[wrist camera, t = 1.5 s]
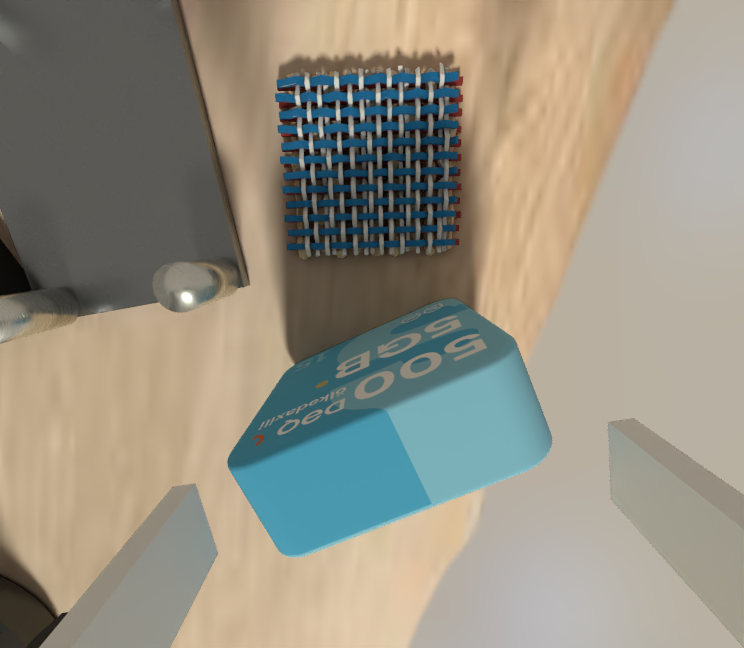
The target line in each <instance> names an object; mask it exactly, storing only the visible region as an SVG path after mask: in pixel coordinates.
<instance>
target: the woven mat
mask: <svg viewBox="0 0 744 648" xmlns="http://www.w3.org/2000/svg"><path fill="white" fill-rule="evenodd" d="M358 71H359V76H358V75H354V74H352V71H347V75H344V76H342V77H339V72H337V71H334V72H332V71H330V72H329V75H328V74H323V75H321V72H316V75H313V76H312V78H309V73H308V72H305V77H301V76H299V72H297V73H290V74H287V75H286V78H285V79H280V80H277V90H278V91H288V94H284V93H278V94H275V98H276V102H279V108H288V107H289V109H290V110H288V111H282V112H279V117H280V122H282V123H283V122H290V125H291V126H287V125H279V126H278V133H281V136H282V137H291V141H292V142H289V143H282V151H283V152H292V155H291V157H288V156H283V157H280V162H281V164H284V167H291V168H292V169H293V172H290V173H284V180H285V181H294V184H295V187H289V186H287V187H282V188H283V193H286V195H295V199H296V201H291V202H286V208H287V209H291V208H296V213H297V215H285V222H297V227H298V229H296V230H288V236H298V238H297V244H287V250H298V252H299V258H301V259H304V260H305V259H307V258H308V257H310V256H311V252H310V249H316V257H317V256H320V251H321V253H325V252H326V255H328V256H330V249H332V255H337V257H338V258H344V257H345V255H347V248H354V255H358V252H361V251H362V250H363V248H364V254H365V256H366V255H369V248H370V254H372V256H381V255H383V254H384V247H389V255H391V256H393V257H396V256H398V255H399V250H400V254H404V251H408V252H409V250H415V248H416V253H420V246H424V248H425V252H426V256H428V255H433V254H434V252H435V251H436V250H435V246H437V253H441V252H446V249H451V245H459V239H452V232H453V231H459V225H453V223H454V218H461V212H460V211H458V212H456V211H454V205H453V204H460V198H457V197H456V196H453V190H461V184H457V182H453V176H460V169H458V167H456V166H454V167H453V161H461V154H457V152H453V147H460V146H461V139H458V136H456V134H458V133H461V126H458V121H455V117H457V116H462V109H458V105H457V104H454V102H462V100H463V95H460V94H459V90H457V89H455V86H462V83H463V76H462V77H459V73H458V71H456V72H453V71H449V67H445V70H444V66H443V64H442V63H441V62H440V63H439V72H440V73H438V72H437V71H436V70H433V68H428V69H427V71H426V73H424V74H421V75H420V69H419V67H417V68H416V69H415V72H409V68H405V71H404V73H403V65H400V66H398V73H397V72H396V71H394V70H391V69H390V68H388V69H386V71H387V72H386V74H384V73H380V70H375V74H373V75H370V76H369V73H370V70H368V69H365V76H364V77H363V69H361V68H358ZM415 73H416V75H415ZM382 88H386V90H384V91H382V92H381V91H380V89H382ZM397 88H398V91H397ZM357 89H359V92H357ZM300 91H306V92H305V93H302V94H300ZM321 91H322V92H324V95H321ZM344 91H347V93H344ZM420 103H424V106H422V107H420V106H421V105H420ZM435 103H439V106H438V105H436V104H435ZM397 104H398V106H397ZM340 105H348V107H345V108H343V109H340ZM383 105H386V107H383ZM302 106H307V110H305V109H302ZM322 106H324V108H322ZM358 106H360V109H358ZM364 107H366V108H364ZM435 118H438V121H437V122H435ZM381 119H386V122H384V123H381ZM421 119H424V122H423V121H420V120H421ZM347 120H349V125H346V124H341V121H347ZM359 120H360V124H359ZM365 120H367V123H365ZM397 120H399V123H397ZM323 121H325V126H323ZM403 121H405V123H403ZM302 122H308V124H305V125H303V126H302ZM420 133H424V138H421V139H420ZM435 133H437V134H438V137H435ZM381 134H387V138H381ZM397 134H399V138H397ZM404 134H405V138H404V137H403V135H404ZM442 134H444V137H443V138H442ZM345 135H349V139H347V140H343V141H341V136H345ZM360 135H361V140H360ZM366 135H367V140H366ZM303 137H305V138H309V141H306V140H304V138H303ZM325 138H326V140H325ZM442 147H443V152H442ZM404 148H405V154H403V149H404ZM420 148H424V153H423V152H420ZM435 148H438V152H436V153H434V149H435ZM382 149H387V154H383V155H382ZM367 150H368V154H366V151H367ZM307 151H310V155H308V156H305V157H304V152H307ZM326 151H327V155H326ZM342 151H343V152H349V154H350V156H348V155H342ZM422 162H424V168H421V169H420V163H422ZM435 162H438V165H439V167H440V168H439V167H436V165H435ZM361 164H362V170H361ZM366 164H368V170H366ZM403 164H405V168H403ZM326 165H327V168H328V170H326ZM343 165H350V170H345V171H343ZM382 165H387V169H386V168H382ZM307 167H310V171H306V169H305V168H307ZM398 168H399V169H398ZM438 177H441V179H440V180H439V181H438V182H436V183H435V181H436V178H438ZM382 178H387V183H385V184H382ZM398 178H399V180H398ZM403 178H405V181H406V184H403ZM420 178H425V179H424V183H421V182H420ZM350 179H351V185H344V182H343V180H350ZM361 179H362V185H361ZM367 179H369V184H367ZM306 180H311V182H312V186H306ZM327 181H328V184H327ZM420 191H424V197H422V198H420ZM434 191H438V197H434ZM403 192H406V198H403ZM344 193H351V199H347V200H344ZM362 193H363V199H362ZM383 193H388V198H383ZM307 194H312V200H307ZM328 194H329V200H328ZM367 194H369V199H367ZM398 195H399V198H398ZM422 205H424V211H420V206H422ZM434 205H437V211H434ZM367 206H369V213H368V207H367ZM383 206H388V212H383ZM398 206H399V212H398ZM404 206H406V212H404ZM328 207H330V214H329V211H328ZM344 207H352V214H345V208H344ZM362 207H363V213H362ZM308 208H313V212H314V214H310V215H308ZM434 218H437V225H434ZM441 218H443V222H442V219H441ZM399 219H400V227H398V220H399ZM404 219H406V226H404ZM420 219H424V226H420ZM368 220H369V221H370V227H368ZM383 220H388V227H383ZM345 221H352V228H345ZM308 222H314V229H309V224H308ZM329 222H330V225H331V228H330V227H329ZM420 232H424V240H420ZM434 232H437V240H434ZM399 233H400V238H399ZM404 233H406V240H405V238H404ZM415 233H416V235H415ZM368 234H370V241H368ZM383 234H388V237H389V241H384V235H383ZM330 235H331V236H332V242H331V243H329V238H330ZM346 235H352V237H353V242H346ZM310 236H314V238H315V243H310ZM441 236H442V239H441ZM441 246H442V251H441Z"/></svg>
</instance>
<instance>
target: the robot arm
mask: <svg viewBox="0 0 744 648" xmlns="http://www.w3.org/2000/svg"><path fill="white" fill-rule="evenodd" d="M608 436H609V462H610V463H609V464H610V492H611V500H612V501H613V502H614V504H615V505H616V506H617V507H618V508H619V509H620V510H621V511H622V513H623V514H624V515H625V516H626V517H627V518H628V519H629V520H630V521H631V523H632V524H633V525H634V526H635V527H636V528H637V529H638V530H639V531H640V533H641V534H642V535H643V536H644V537H645V538H646V539H647V540H648V541H649V543H650V544H651V545H652V546H653V547H654V548H655V549H656V550H657V551H658V553H659V554H660V555H661V556H662V557H663V558H664V559H665V560H666V562H667V563H668V564H669V565H670V566H671V567H672V568H673V569H674V570H675V572H676V573H677V574H678V575H679V576H680V577H681V578H682V579H683V580H684V582H685V583H686V584H687V585H688V586H689V587H690V588H691V589H692V590H693V591H694V592H695V594H696V595H697V596H698V597H699V598H700V599H701V601H702V602H703V603H704V604H705V605H706V606H707V607H708V608H709V609H710V611H711V612H713V614H714V615H715V616H716V617H717V618H718V619H719V621H720V622H721V623H722V624H723V625H724V626H725V627H726V628H727V630H729V632H730V633H731V634H732V635H733V636H734V637H735V638H736V639H737V641H738V642H739V643H740V644H741V645H742V646H743V647H744V495H743V494H742V493H740V492H739V491H737V490H736V489H734V488H733V487H731V486H730V485H729V484H727V483H726V482H724V481H723V480H722V479H720V478H719V477H717V476H716V475H714V474H713V473H711V472H710V471H709V470H707V469H706V468H704V467H703V466H701V465H700V464H699V463H697V462H696V461H694V460H693V459H691V458H690V457H688V456H687V455H686V454H684V453H683V452H681V451H680V450H679V449H677V448H676V447H674V446H673V445H671V444H670V443H668V442H667V441H666V440H664V439H663V438H661V437H660V436H658V435H657V434H656V433H654V432H653V431H651V430H650V429H648V428H647V427H645V426H644V425H643V424H641V423H640V422H638V421H637V420H635V419H634V418H632V419H626V420H619V421H612V422H608ZM217 554H218V551H217V548H216V545H215V542H214V539H213V536H212V533H211V530H210V527H209V524H208V521H207V518H206V515H205V512H204V509H203V505H202V502H201V499H200V496H199V493H198V490H197V487H196V484H189V485H182V486H175V487H172V488H171V490H170V491H169V492H168V493H167V494H166V496H165V497H164V498H163V499H162V500H161V502H160V503H159V504H158V505H157V507H156V508H155V509H154V510H153V511H152V513H151V514H150V515H149V516H148V517H147V519H146V520H145V521H144V522H143V523H142V525H141V526H140V527H139V528H138V529H137V531H136V532H135V533H134V534H133V535H132V537H131V538H130V539H129V540H128V541H127V543H126V544H125V545H124V546H123V547H122V549H121V550H120V551H119V552H118V553H117V555H116V556H115V557H114V558H113V559H112V561H111V562H110V563H109V564H108V565H107V567H106V568H105V569H104V570H103V571H102V573H101V574H100V575H99V576H98V577H97V579H96V580H95V581H94V582H93V583H92V585H91V586H90V587H89V588H88V589H87V591H86V592H85V593H84V594H83V595H82V597H81V598H80V599H79V600H78V601H77V603H76V604H75V605H74V606H73V607H72V609H71V610H70V611H69V612H66V613H62V614H61V615H60V616H59V617H57V618H56V619H54V618H53V617H52V615H51V614H50V613H49V611H48V610H47V609H46V608H45V607H44V606H43V605H42V604H41V603H40V602H39V601H38V600H37V599H36V598H34V597H33V596H32V595H31V594H29V593H28V592H27V591H25V590H24V589H22V588H21V587H19V586H17V585H16V584H14V583H12V582H10V581H8V580H6V579H4V578H1V577H0V648H170V646H171V645H172V643H173V641H174V639H175V637H176V635H177V633H178V631H179V629H180V627H181V625H182V623H183V621H184V619H185V617H186V615H187V613H188V611H189V609H190V607H191V605H192V603H193V601H194V599H195V598H196V596H197V594H198V592H199V590H200V588H201V586H202V584H203V582H204V580H205V578H206V576H207V574H208V572H209V570H210V568H211V566H212V564H213V562H214V560H215V558H216V556H217Z"/></svg>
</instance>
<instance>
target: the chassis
mask: <svg viewBox="0 0 744 648" xmlns="http://www.w3.org/2000/svg"><path fill="white" fill-rule="evenodd" d="M0 209H1V211H2V214H3V217H4V219H5V222H6V224H7V227H8V229H9V232H10V235H11V237H12V240H13V242H14V245H15V248H16V250H17V253H18V255H19V258H20V261H21V263H22V266H23V268H24V271H25V274H26V276H27V279H28V281H29V284H30V286H31V289H32V291H29V292H22V293H15V294H8V295H1V296H0V343H4V342H7V341H11V340H15V339H18V338H22V337H26V336H29V335H33V334H37V333H40V332H44V331H48V330H51V329H55V328H59V327H62V326H66V325H69V324H71V323H73V322H74V321H75V320H76V319H77V317H79V316H85V315H90V314H96V313H102V312H107V311H113V310H118V309H124V308H129V307H135V306H141V305H146V304H152V303H157V302H160V304H161V305H163V306H164V307H165V308H167V309H169V310H171V311H174V312H187V311H190V310H193V309H195V308H198V307H201V306H203V305H206V304H209V303H211V302H214V301H217V300H219V299H222V298H225V297H227V296H230V295H232V294H233V293H234V292H235V291H236V290H237V289H238V288H241V287H245V286H248V285H250V284H249V281H248V277H247V273H246V269H245V265H244V261H243V257H242V253H241V249H240V245H239V241H238V237H237V233H236V229H235V225H234V221H233V217H232V213H231V209H230V205H229V201H228V197H227V193H226V189H225V185H224V181H223V177H222V173H221V169H220V166H219V162H218V158H217V154H216V150H215V146H214V142H213V138H212V134H211V130H210V126H209V122H208V118H207V114H206V110H205V106H204V102H203V98H202V94H201V90H200V86H199V82H198V78H197V74H196V70H195V66H194V62H193V58H192V54H191V50H190V47H189V43H188V39H187V35H186V31H185V27H184V23H183V19H182V15H181V11H180V7H179V3H178V0H0Z"/></svg>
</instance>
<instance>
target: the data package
mask: <svg viewBox="0 0 744 648" xmlns="http://www.w3.org/2000/svg"><path fill="white" fill-rule="evenodd" d="M551 444H552V436H551V433H550V430H549V427H548V425H547V422H546V419H545V417H544V414H543V411H542V409H541V406H540V404H539V401H538V399H537V396H536V393H535V390H534V388H533V385H532V383H531V380H530V377H529V375H528V372H527V369H526V367H525V364H524V362H523V359H522V356H521V354H520V351H519V348H518V346H517V343H516V341H515V339H514V338H513V337H512V336H510V335H509V334H507V333H506V332H505V331H503V330H502V329H500V328H499V327H497V326H496V325H494V324H493V323H491V322H490V321H488V320H487V319H485V318H484V317H483V316H481V315H480V314H478V313H477V312H475V311H474V310H472V309H471V308H469V307H468V306H466V305H465V304H463V303H462V302H461V301H459V300H458V299H455V298H449V299H443V300H440V301H437V302H434V303H431V304H429V305H427V306H424V307H422V308H420V309H417V310H415V311H413V312H411V313H408V314H406V315H404V316H402V317H399V318H397V319H395V320H393V321H390V322H388V323H386V324H383V325H381V326H379V327H377V328H374V329H372V330H370V331H368V332H365V333H363V334H361V335H359V336H356V337H354V338H352V339H350V340H347V341H345V342H343V343H340V344H338V345H336V346H334V347H331V348H329V349H327V350H325V351H322V352H320V353H318V354H316V355H313V356H311V357H309V358H307V359H305V360H303V361H301V362H299V363H297V364H296V365H294V366H293V367H291V368H290V369H289V370H287V371H286V372H285V373H284V375H283V376H282V378H281V379H280V380H279V382H278V383H277V385H276V386H275V388H274V389H273V391H272V392H271V394H270V395H269V397H268V398H267V400H266V401H265V403H264V404H263V406H262V407H261V409H260V410H259V412H258V413H257V415H256V416H255V418H254V419H253V421H252V422H251V424H250V425H249V427H248V428H247V430H246V431H245V433H244V434H243V436H242V437H241V439H240V440H239V441H238V443H237V444H236V446H235V447H234V449H233V450H232V452H231V454H230V456H229V458H228V468H229V470H230V471H231V473H232V475H233V476H234V478H235V480H236V481H237V483H238V485H239V486H240V488H241V490H242V491H243V493H244V494H245V496H246V498H247V499H248V501H249V503H250V504H251V506H252V508H253V509H254V511H255V512H256V514H257V516H258V517H259V519H260V521H261V522H262V524H263V526H264V527H265V529H266V530H267V532H268V534H269V535H270V537H271V539H272V540H273V542H274V544H275V545H276V547H277V548H278V550H279V551H280V552H281V553H282V554H283V555H285V556H288V557H294V558H295V557H303V556H306V555H309V554H312V553H314V552H317V551H320V550H322V549H325V548H327V547H330V546H333V545H335V544H338V543H340V542H343V541H346V540H348V539H351V538H354V537H356V536H359V535H361V534H364V533H367V532H369V531H372V530H374V529H377V528H380V527H382V526H385V525H387V524H390V523H393V522H395V521H398V520H400V519H403V518H406V517H408V516H411V515H413V514H416V513H419V512H421V511H424V510H426V509H429V508H432V507H434V506H437V505H439V504H442V503H445V502H447V501H450V500H452V499H455V498H458V497H460V496H463V495H465V494H468V493H471V492H473V491H476V490H478V489H481V488H484V487H486V486H489V485H491V484H494V483H497V482H499V481H501V480H504V479H507V478H509V477H512V476H515V475H517V474H520V473H523V472H525V471H527V470H530V469H531V468H533V467H535V466H536V465H538V464H539V463H540V462H541V461H542V460H543V459H544V458H545V457H546V456H547V454H548V453H549V451H550V448H551Z"/></svg>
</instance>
